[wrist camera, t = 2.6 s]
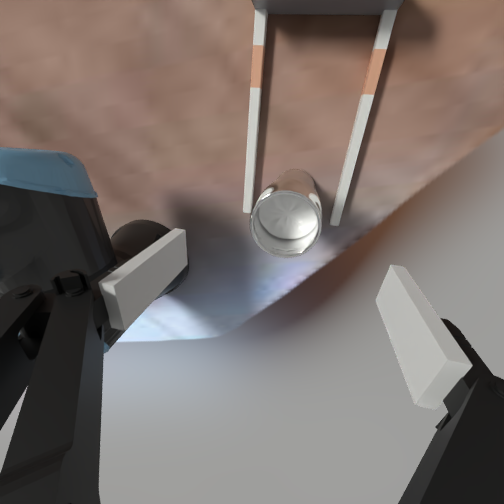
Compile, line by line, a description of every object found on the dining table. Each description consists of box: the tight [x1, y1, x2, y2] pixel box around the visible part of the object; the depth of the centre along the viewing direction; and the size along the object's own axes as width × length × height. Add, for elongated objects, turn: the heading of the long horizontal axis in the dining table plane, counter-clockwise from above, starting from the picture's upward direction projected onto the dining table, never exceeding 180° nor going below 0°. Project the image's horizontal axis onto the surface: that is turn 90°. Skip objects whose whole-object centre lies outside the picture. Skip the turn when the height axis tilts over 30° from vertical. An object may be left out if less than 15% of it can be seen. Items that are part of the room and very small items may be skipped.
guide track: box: [243, 0, 404, 226], centre depth 28 cm, size 25×14×5 cm, turn 175°
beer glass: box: [250, 169, 322, 258], centre depth 28 cm, size 7×7×15 cm
